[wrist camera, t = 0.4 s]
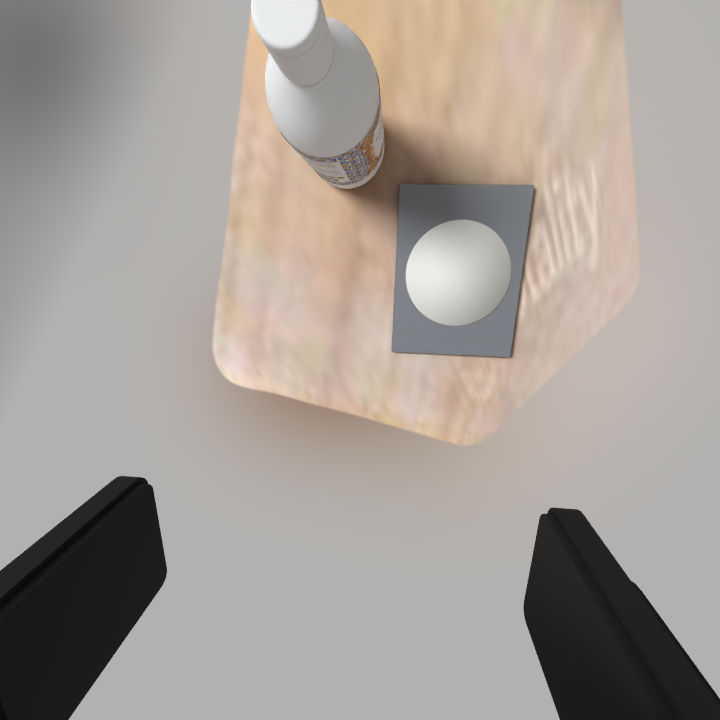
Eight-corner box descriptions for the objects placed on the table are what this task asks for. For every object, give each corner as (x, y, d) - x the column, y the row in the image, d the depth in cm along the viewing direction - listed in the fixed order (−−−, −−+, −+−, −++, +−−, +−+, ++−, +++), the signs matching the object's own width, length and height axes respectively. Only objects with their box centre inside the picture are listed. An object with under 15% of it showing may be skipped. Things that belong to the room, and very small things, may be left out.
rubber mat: (399, 185, 34) (399, 183, 34) (531, 186, 33) (534, 184, 33) (391, 350, 39) (391, 351, 38) (508, 355, 38) (510, 357, 37)
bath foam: (382, 191, 34) (366, 105, 15) (311, 189, 35) (208, 105, 16) (387, 107, 33) (374, -111, 13) (310, 106, 33) (194, -102, 14)
